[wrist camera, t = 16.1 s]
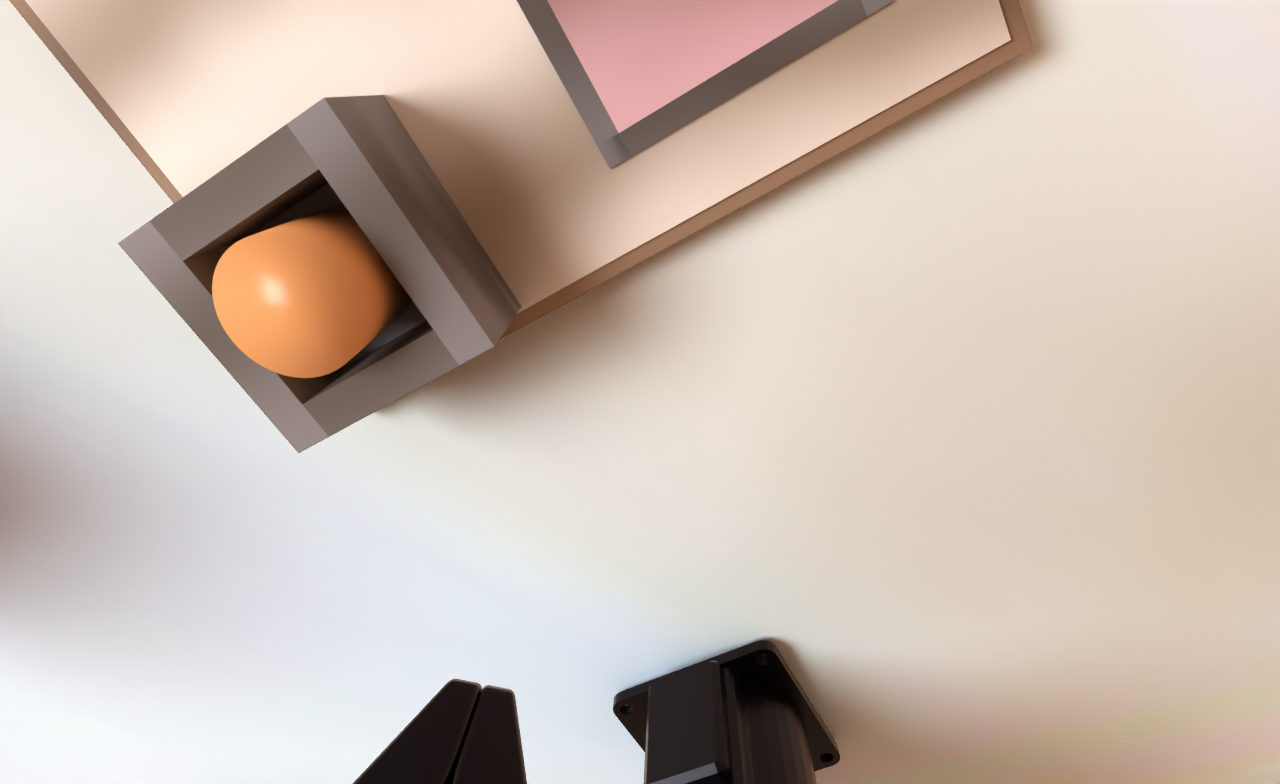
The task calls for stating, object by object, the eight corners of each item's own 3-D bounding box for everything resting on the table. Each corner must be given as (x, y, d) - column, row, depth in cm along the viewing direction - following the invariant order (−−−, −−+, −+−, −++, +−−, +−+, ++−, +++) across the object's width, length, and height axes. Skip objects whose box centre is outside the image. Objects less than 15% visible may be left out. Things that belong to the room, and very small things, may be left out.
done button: (438, 297, 17) (393, 337, 14) (342, 352, 18) (283, 401, 15) (358, 183, 16) (294, 203, 13) (260, 247, 17) (180, 279, 14)
